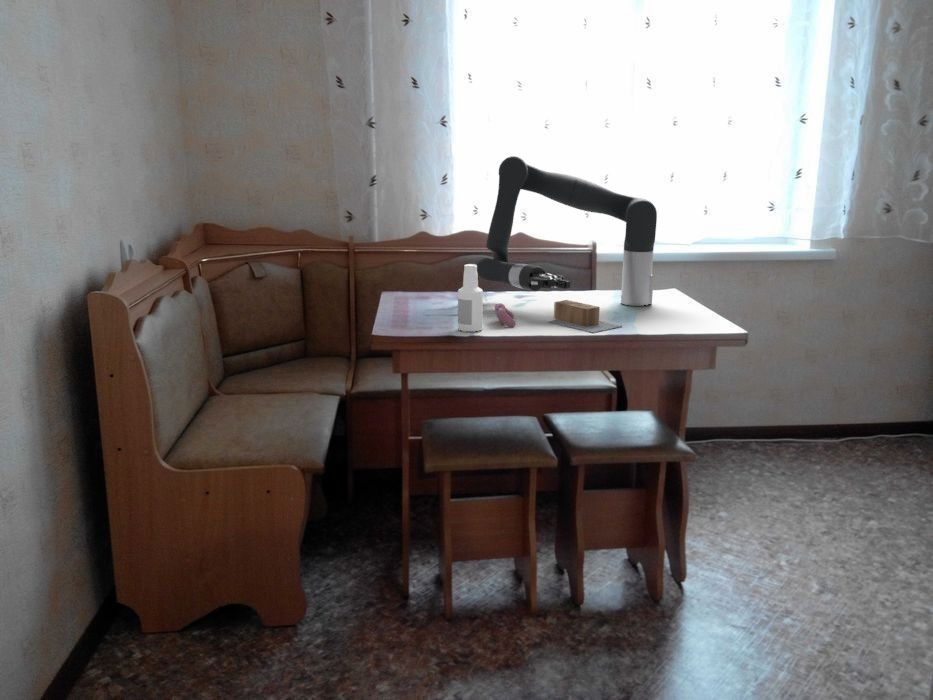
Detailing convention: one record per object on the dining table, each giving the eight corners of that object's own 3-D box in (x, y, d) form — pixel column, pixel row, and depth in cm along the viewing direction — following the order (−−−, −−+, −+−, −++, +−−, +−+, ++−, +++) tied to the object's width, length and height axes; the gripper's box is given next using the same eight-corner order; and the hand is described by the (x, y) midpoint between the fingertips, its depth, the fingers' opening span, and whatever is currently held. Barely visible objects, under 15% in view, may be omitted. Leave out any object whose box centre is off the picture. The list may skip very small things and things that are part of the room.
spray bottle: (460, 326, 223) (461, 262, 218) (484, 327, 222) (485, 263, 217) (455, 331, 216) (455, 266, 212) (480, 333, 215) (480, 267, 210)
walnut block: (566, 299, 234) (599, 306, 224) (565, 316, 235) (598, 324, 225) (554, 301, 231) (587, 309, 221) (553, 318, 232) (586, 326, 222)
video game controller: (501, 325, 232) (490, 304, 230) (515, 318, 231) (504, 297, 230) (502, 333, 222) (491, 311, 221) (517, 326, 222) (506, 304, 220)
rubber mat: (548, 322, 229) (548, 321, 229) (577, 316, 236) (577, 315, 236) (593, 333, 216) (593, 332, 216) (621, 327, 223) (622, 325, 223)
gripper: (511, 266, 236) (552, 274, 223) (542, 262, 244) (584, 269, 231) (510, 291, 238) (551, 300, 225) (542, 286, 246) (583, 295, 233)
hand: (568, 284), depth 228 cm, fingers closed
